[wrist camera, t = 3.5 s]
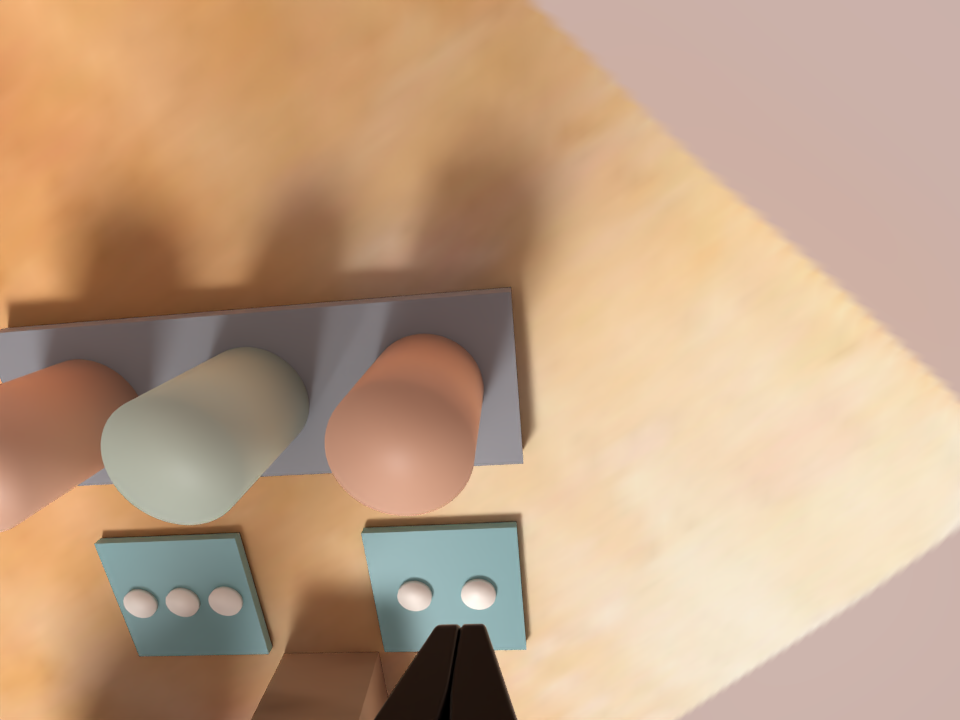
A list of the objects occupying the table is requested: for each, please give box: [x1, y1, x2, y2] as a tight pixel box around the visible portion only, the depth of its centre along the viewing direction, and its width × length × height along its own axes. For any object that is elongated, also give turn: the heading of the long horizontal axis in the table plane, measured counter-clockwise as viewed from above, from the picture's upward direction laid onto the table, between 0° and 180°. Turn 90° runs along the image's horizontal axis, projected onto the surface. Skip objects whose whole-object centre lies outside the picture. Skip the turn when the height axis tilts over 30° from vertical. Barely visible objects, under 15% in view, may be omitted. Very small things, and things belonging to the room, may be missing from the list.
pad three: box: [94, 533, 272, 656], centre depth 24 cm, size 7×7×1 cm
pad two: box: [361, 522, 526, 652], centre depth 23 cm, size 7×7×1 cm
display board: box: [0, 287, 523, 532], centre depth 17 cm, size 7×21×6 cm, turn 95°
